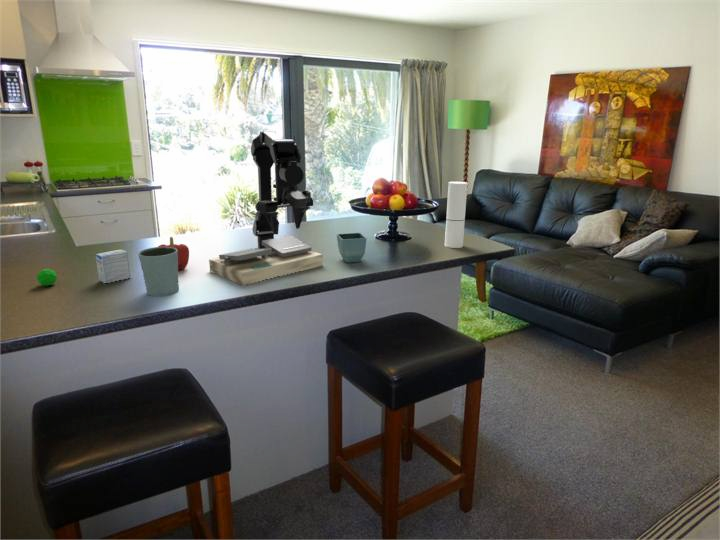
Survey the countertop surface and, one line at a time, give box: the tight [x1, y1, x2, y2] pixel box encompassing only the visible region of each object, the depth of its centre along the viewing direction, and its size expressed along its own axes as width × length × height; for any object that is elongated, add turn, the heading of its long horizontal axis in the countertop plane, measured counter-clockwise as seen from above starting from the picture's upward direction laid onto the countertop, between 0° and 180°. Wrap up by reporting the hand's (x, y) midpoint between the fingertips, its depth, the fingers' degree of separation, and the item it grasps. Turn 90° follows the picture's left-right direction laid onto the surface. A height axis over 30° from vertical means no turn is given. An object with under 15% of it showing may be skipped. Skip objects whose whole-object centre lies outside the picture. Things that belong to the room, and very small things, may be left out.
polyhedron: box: [36, 268, 58, 287], centre depth 142 cm, size 5×5×5 cm
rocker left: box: [218, 248, 272, 261], centre depth 154 cm, size 12×12×2 cm
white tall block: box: [444, 181, 468, 249], centre depth 190 cm, size 7×7×25 cm
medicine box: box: [94, 249, 132, 284], centre depth 147 cm, size 8×4×9 cm, turn 141°
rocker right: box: [262, 235, 312, 257], centre depth 165 cm, size 12×12×2 cm
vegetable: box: [157, 236, 190, 271], centre depth 158 cm, size 11×10×10 cm
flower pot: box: [336, 232, 367, 263], centre depth 170 cm, size 9×9×9 cm
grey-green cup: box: [137, 246, 180, 297], centre depth 137 cm, size 10×10×12 cm
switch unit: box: [208, 240, 324, 286], centre depth 161 cm, size 20×31×7 cm, turn 135°
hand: (286, 230), depth 155 cm, fingers open, 9 cm apart
